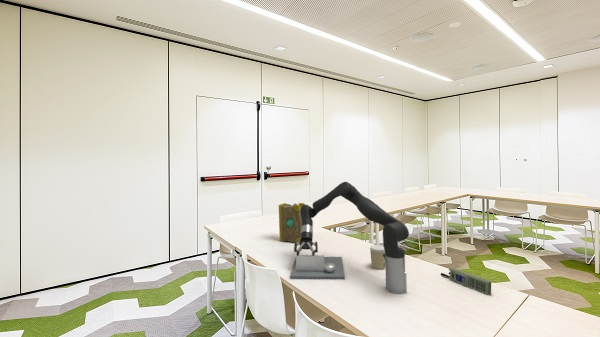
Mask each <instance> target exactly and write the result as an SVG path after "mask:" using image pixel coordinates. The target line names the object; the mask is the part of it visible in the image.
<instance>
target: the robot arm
mask: <svg viewBox="0 0 600 337" xmlns="http://www.w3.org/2000/svg"><path fill="white" fill-rule="evenodd" d="M338 197H342V198H344V199H345V200H347V201H349V202H350V203H352V204H353V205H354V206H355V207H356V208H357V210H358V212H360V214H361V215H363V216H364V217H365V219H367V220H369V221H371V222H372V223H376V224H379V225H382V227H383V228H382V244H383V245H382V246H384V250H385V269H384V270H385V290H386V291H387V292H389V293H392V294H399V295H401V294H404V293H407V292H408V291H407V284H408V282H407V279H408V278H407V271H406V251H405V250H404V249H403V248H401V247H399V242H402V241H405V240H407V239H408V238H409V235H410V231H409V228H408V227H407V226H406V224H404V223H403V222H402V221H400V220H399V219H398V218H395V217H393V216H392V215H391V214H389V213H388V212H387V211H385V210H384V209H383V208H381V207H380V205H378V204H377V203H375V202H374V201H373V200H371V199H370V198H368V197H366V196H364V195H363V194H362V193H361V192H360V191H359V190H358V189H357V188H356V187H355V186H354V185H352V184H351V183H350V182H348V181H342V182H341V183H339V184H338V185H337V186H336V187H334V188H333V189H332V190H330V191H329V192H328V193H326V194H325V195H324V196H323V197H321V198H319V199H317V200H316V201H314V202H313V203H312V207H311V206H310V205H309V204H306V203H305V205H303V206H302V207H301V210H300V214H301V219H302V228H301V237H300V242H297V241H295V242H294V245H293V252H294V253H296V255H300V252H301V251H303V250H307V251H308V250H310V251H311V255H316V253H318V252H319V246H318V241H317V240H316V241H314V242H313V237H314V234H313V233H314V227H313V226H314V221H313V218H314V217H316V216H317V215H318V214H319V213H320V212H321V211H323V210H326V208H329V206H330V205H331V204H332V202H333V201H334V200H335V199H336V198H338ZM313 246H314V247H315V249H314V248H313Z"/></svg>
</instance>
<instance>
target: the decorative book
mask: <svg viewBox="0 0 600 337" xmlns="http://www.w3.org/2000/svg"><path fill="white" fill-rule="evenodd" d="M305 204H306V203H304V202H299V203H298V204H297V203H293V204H290V203H289V204H288V203H285V202H284V203H281V204H279V205H278V219H279V220H278V227H279V228H278V229H279V242H290V243H295V241H297V242H300V237H301V228H302V219H301V214H300V210H301V207H302V206H303V205H305Z"/></svg>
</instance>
